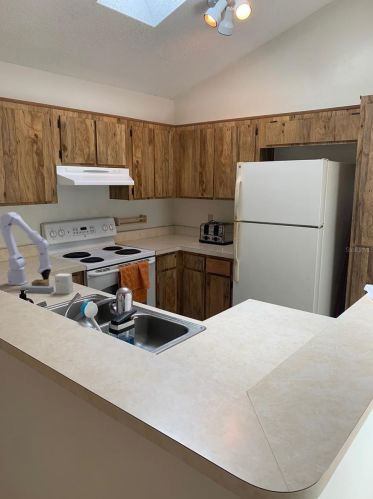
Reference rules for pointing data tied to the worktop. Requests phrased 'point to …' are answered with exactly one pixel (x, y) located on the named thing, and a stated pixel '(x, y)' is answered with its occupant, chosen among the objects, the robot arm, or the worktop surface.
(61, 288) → the small box
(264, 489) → the worktop surface
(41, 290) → the board
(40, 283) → the walnut block
